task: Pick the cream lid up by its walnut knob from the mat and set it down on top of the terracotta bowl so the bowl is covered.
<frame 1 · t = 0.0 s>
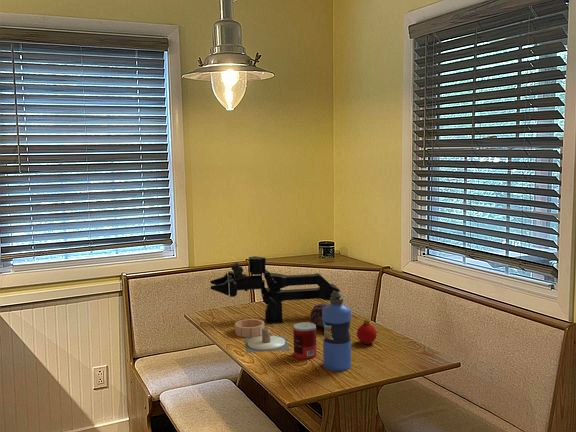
hand: (210, 284, 237), 17 cm above the table, tool horizontal, fingers open, 9 cm apart
canned food: (305, 357, 202), on the table
lid: (266, 343, 214), resting on mat
mat: (266, 345, 214), on the table
pine cone: (324, 329, 231), on the table
bowl: (250, 333, 227), on the table
water bottle: (337, 366, 193), on the table
christmas ornament: (366, 343, 214), on the table
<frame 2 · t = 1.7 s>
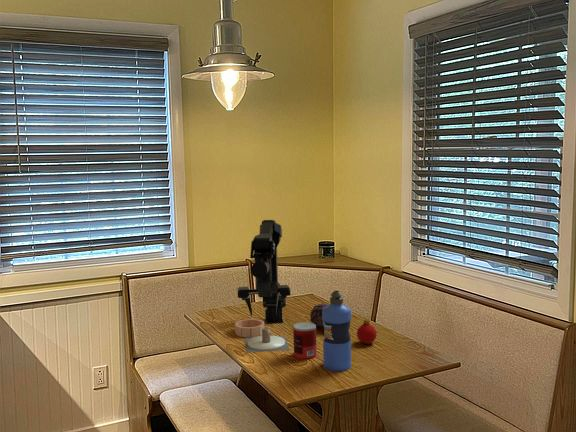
hand: (264, 314, 213), 11 cm above the table, tool pointing down, fingers open, 9 cm apart
nothing on the table moved.
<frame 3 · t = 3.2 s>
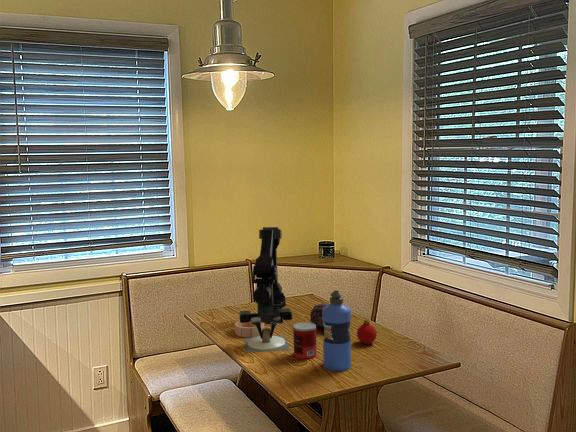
hand: (266, 338, 214), 3 cm above the table, tool pointing down, fingers closed on lid, 3 cm apart
lid: (266, 343, 214), resting on mat, touching gripper
everything else where it was.
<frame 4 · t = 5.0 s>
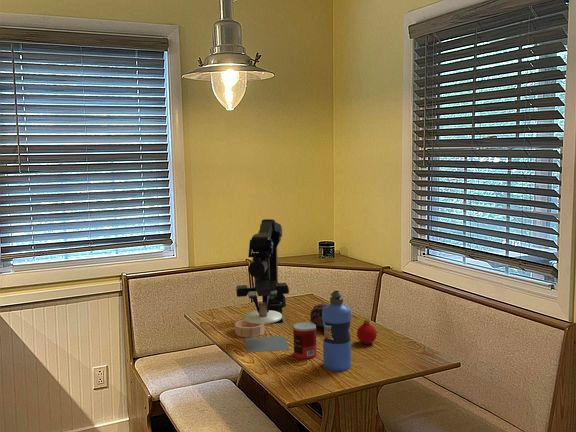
hand: (263, 312, 215), 11 cm above the table, tool pointing down, fingers closed on lid, 3 cm apart
lid: (263, 317, 215), point 9 cm above the table, touching gripper
everything else where it was.
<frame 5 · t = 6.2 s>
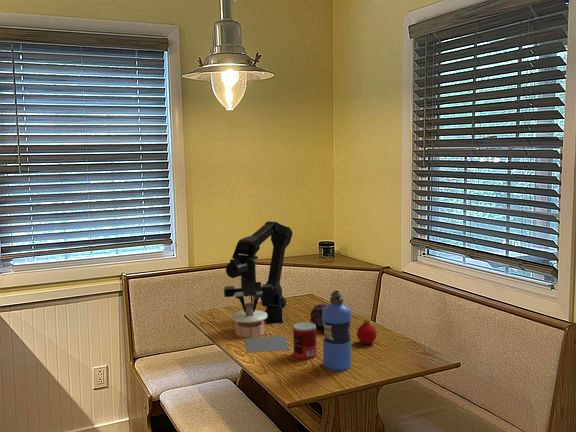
hand: (249, 312, 226), 8 cm above the table, tool pointing down, fingers closed on lid, 3 cm apart
lid: (249, 317, 227), point 6 cm above the table, touching gripper
everything else where it was.
when the fingers open (7 cm above the table, at t = 7.0 s): lid drops 1 cm, resting on bowl.
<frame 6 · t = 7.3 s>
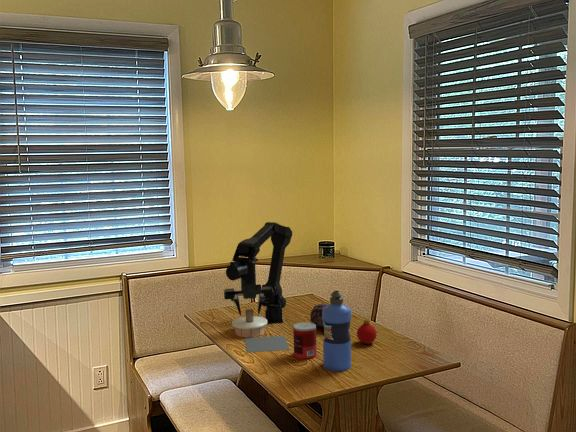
hand: (249, 314, 226), 7 cm above the table, tool pointing down, fingers open, 7 cm apart
lid: (249, 323, 227), point 4 cm above the table, touching bowl
everything else where it was.
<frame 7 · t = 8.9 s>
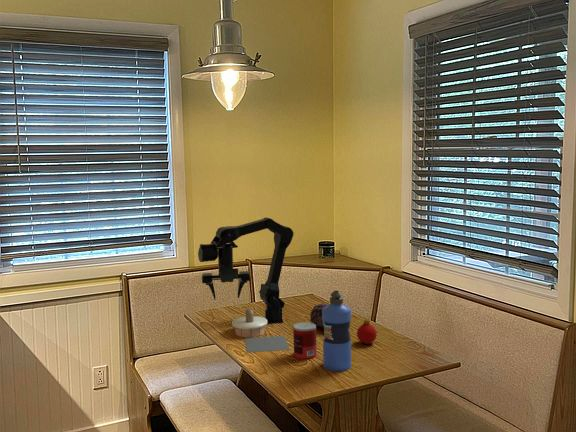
hand: (226, 298, 232), 12 cm above the table, tool pointing down, fingers open, 9 cm apart
nothing on the table moved.
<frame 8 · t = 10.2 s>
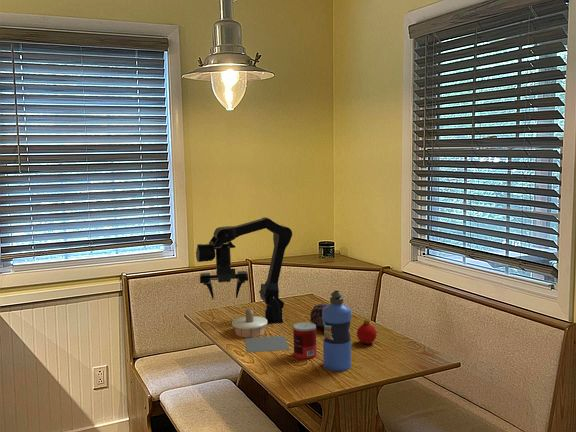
hand: (224, 298, 234), 12 cm above the table, tool pointing down, fingers open, 9 cm apart
nothing on the table moved.
at the end: lid 0.0 cm off-centre on the bowl, point 4.0 cm above the bowl's base; lid tilted 0°; the gripper is holding nothing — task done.
